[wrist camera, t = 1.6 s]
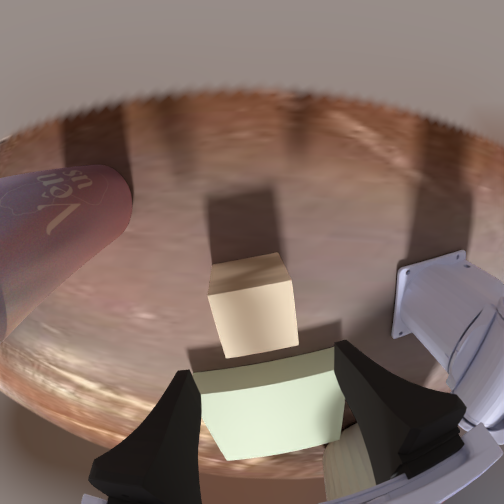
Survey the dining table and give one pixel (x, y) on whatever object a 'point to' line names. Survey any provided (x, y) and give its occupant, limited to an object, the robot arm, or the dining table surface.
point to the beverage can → (54, 231)
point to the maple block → (253, 305)
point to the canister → (347, 465)
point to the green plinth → (273, 405)
